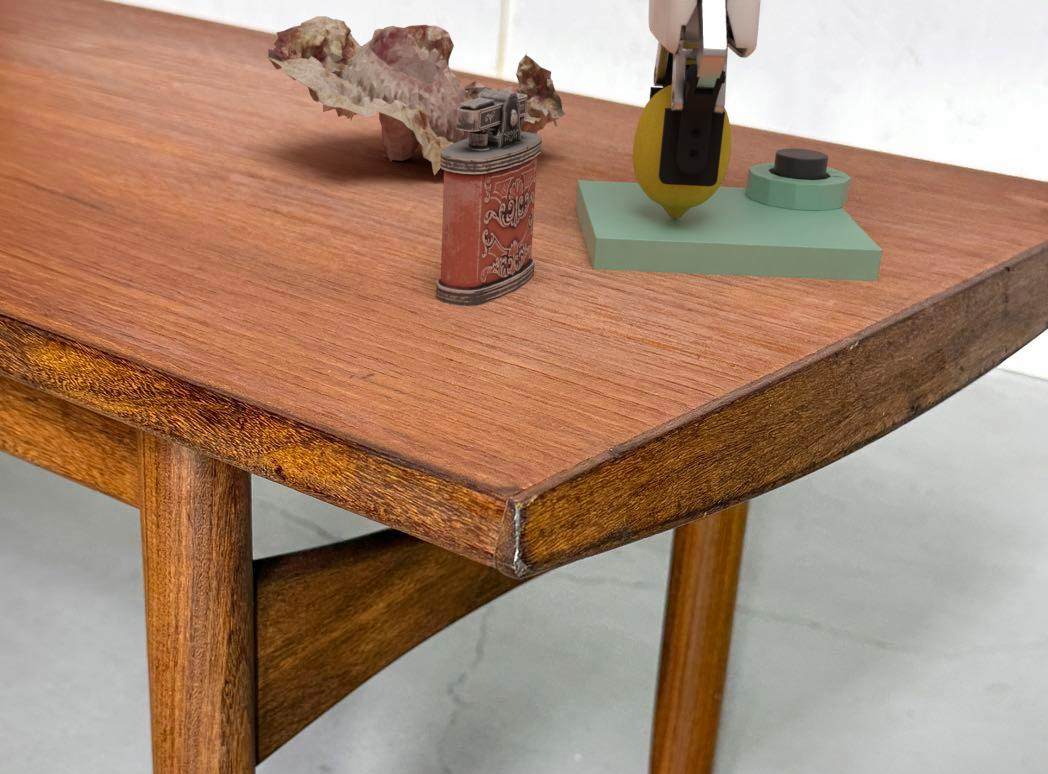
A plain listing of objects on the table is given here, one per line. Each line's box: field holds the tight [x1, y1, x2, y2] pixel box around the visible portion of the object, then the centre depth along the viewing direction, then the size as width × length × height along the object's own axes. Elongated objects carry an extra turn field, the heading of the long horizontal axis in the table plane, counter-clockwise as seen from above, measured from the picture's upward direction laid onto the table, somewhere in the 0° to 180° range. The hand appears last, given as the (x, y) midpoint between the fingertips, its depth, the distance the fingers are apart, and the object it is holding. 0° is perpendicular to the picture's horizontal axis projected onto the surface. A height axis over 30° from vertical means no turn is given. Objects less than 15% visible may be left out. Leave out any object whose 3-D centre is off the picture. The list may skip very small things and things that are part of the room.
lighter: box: [435, 89, 543, 307], centre depth 76 cm, size 8×3×10 cm, turn 154°
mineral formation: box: [266, 15, 566, 176], centre depth 104 cm, size 23×16×10 cm
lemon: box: [632, 85, 732, 218], centre depth 85 cm, size 6×6×8 cm
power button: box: [773, 147, 829, 180], centre depth 92 cm, size 3×3×2 cm
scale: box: [575, 161, 883, 282], centre depth 89 cm, size 17×15×4 cm
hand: (679, 167), depth 85 cm, fingers open, 5 cm apart
